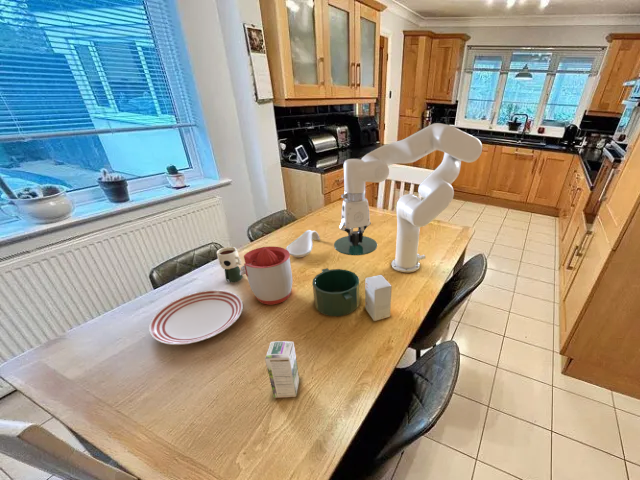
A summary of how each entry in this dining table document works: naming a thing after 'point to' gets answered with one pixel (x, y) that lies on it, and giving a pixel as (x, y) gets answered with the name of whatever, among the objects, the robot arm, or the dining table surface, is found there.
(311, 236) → the spoon rest
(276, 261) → the citrus juicer
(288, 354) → the syrup box
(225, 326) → the dinner plate
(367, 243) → the lid
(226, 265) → the character mug
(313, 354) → the dining table surface
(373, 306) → the small box
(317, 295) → the pot
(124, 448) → the dining table surface
